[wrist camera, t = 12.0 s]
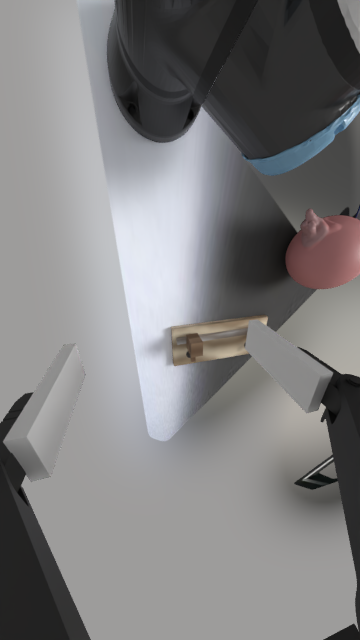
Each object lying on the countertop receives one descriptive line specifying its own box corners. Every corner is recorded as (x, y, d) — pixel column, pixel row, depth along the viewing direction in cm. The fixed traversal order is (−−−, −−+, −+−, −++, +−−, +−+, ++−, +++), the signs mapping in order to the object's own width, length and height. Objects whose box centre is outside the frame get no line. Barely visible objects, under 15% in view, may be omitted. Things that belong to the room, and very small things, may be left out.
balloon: (303, 185, 42) (383, 162, 29) (331, 251, 51) (404, 257, 37) (251, 237, 44) (303, 239, 31) (287, 291, 53) (340, 312, 40)
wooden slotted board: (171, 326, 50) (176, 340, 43) (264, 314, 55) (282, 325, 49) (173, 362, 55) (178, 380, 49) (258, 348, 60) (273, 362, 54)
